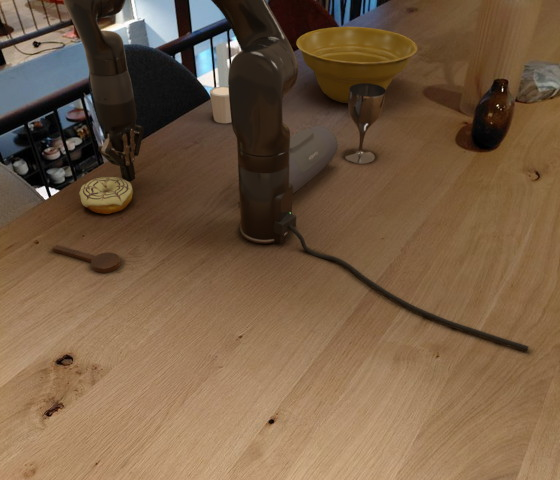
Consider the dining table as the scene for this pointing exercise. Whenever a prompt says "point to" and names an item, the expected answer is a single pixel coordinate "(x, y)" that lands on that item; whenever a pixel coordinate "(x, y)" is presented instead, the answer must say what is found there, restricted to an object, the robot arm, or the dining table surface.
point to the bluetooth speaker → (310, 154)
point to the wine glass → (364, 115)
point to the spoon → (93, 259)
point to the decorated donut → (106, 194)
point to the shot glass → (221, 104)
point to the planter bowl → (354, 57)
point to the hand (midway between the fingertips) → (129, 179)
